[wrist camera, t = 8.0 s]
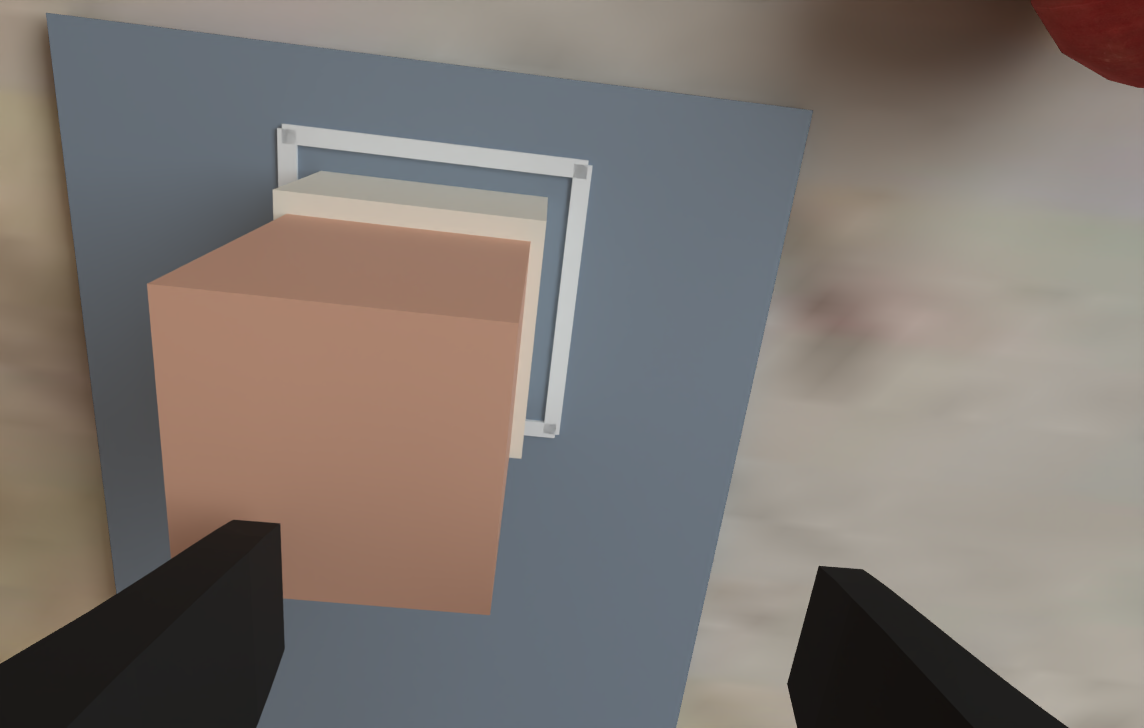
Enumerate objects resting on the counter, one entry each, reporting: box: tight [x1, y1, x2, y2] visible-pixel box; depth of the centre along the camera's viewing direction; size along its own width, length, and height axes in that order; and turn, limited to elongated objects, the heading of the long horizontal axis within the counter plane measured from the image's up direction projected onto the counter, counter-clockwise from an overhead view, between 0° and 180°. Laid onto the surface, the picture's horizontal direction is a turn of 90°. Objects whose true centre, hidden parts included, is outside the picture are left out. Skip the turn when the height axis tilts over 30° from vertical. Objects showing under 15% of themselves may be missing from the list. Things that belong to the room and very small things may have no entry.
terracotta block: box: [147, 214, 531, 615], centre depth 12 cm, size 4×4×5 cm
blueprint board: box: [46, 13, 813, 728], centre depth 18 cm, size 20×16×4 cm
